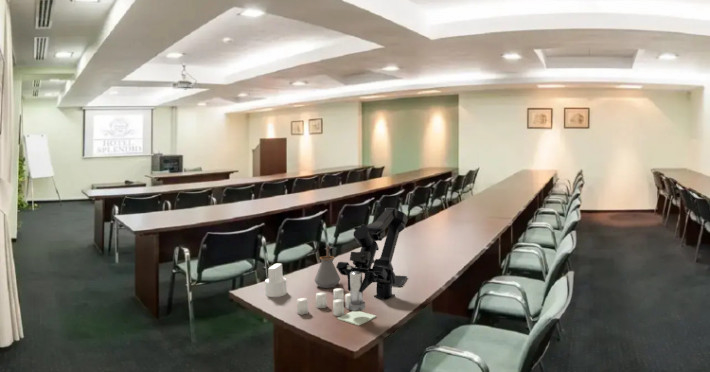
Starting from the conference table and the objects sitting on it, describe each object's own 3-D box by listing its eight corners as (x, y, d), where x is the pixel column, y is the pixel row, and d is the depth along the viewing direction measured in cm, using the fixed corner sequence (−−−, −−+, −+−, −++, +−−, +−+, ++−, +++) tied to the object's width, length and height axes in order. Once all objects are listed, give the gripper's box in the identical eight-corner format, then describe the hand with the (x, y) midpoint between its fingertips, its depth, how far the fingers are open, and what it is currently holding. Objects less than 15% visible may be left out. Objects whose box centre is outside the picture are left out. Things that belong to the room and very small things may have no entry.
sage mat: (355, 311, 173) (355, 309, 173) (376, 317, 166) (376, 315, 166) (337, 319, 165) (337, 317, 165) (358, 325, 159) (358, 324, 159)
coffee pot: (340, 289, 200) (339, 255, 199) (313, 289, 200) (312, 256, 199) (341, 275, 221) (340, 245, 220) (317, 276, 221) (316, 245, 220)
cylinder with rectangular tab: (282, 297, 191) (281, 269, 190) (262, 296, 193) (261, 268, 192) (289, 290, 200) (288, 263, 198) (270, 289, 201) (269, 263, 200)
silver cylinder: (350, 304, 169) (349, 270, 168) (366, 305, 168) (365, 270, 167) (346, 310, 163) (345, 274, 162) (363, 311, 162) (362, 275, 161)
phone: (384, 284, 203) (391, 275, 217) (384, 287, 203) (391, 277, 217) (401, 285, 201) (407, 276, 215) (401, 288, 201) (407, 278, 215)
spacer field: (333, 298, 188) (332, 286, 188) (363, 306, 178) (362, 293, 177) (295, 313, 172) (294, 300, 172) (325, 322, 162) (325, 309, 162)
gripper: (337, 240, 171) (323, 277, 162) (383, 244, 163) (371, 283, 154) (348, 256, 179) (335, 292, 170) (392, 260, 170) (381, 298, 162)
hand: (354, 291), depth 164 cm, fingers closed on silver cylinder, 4 cm apart
